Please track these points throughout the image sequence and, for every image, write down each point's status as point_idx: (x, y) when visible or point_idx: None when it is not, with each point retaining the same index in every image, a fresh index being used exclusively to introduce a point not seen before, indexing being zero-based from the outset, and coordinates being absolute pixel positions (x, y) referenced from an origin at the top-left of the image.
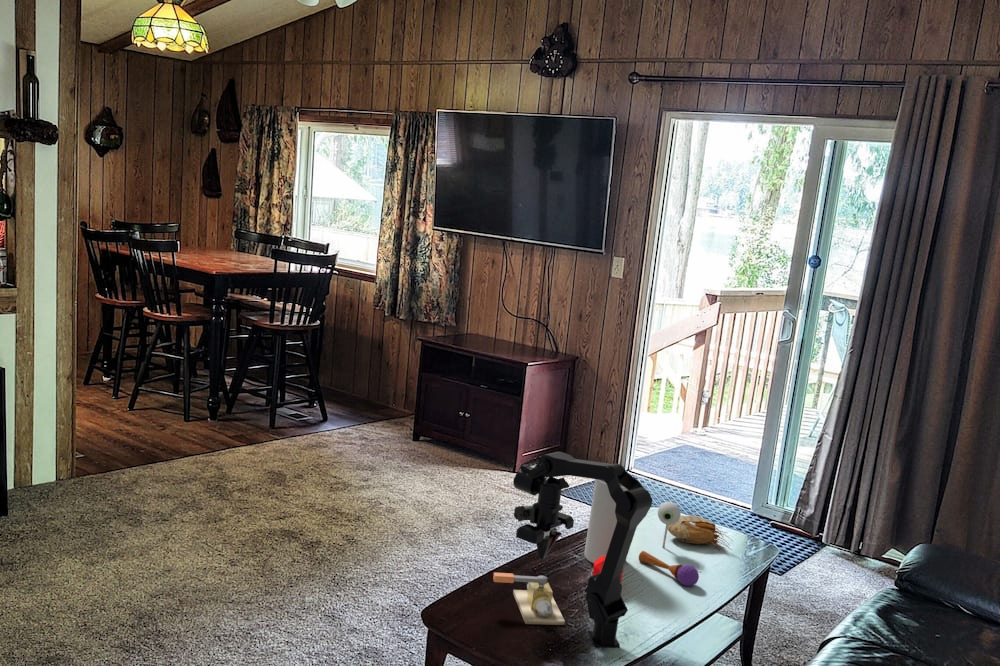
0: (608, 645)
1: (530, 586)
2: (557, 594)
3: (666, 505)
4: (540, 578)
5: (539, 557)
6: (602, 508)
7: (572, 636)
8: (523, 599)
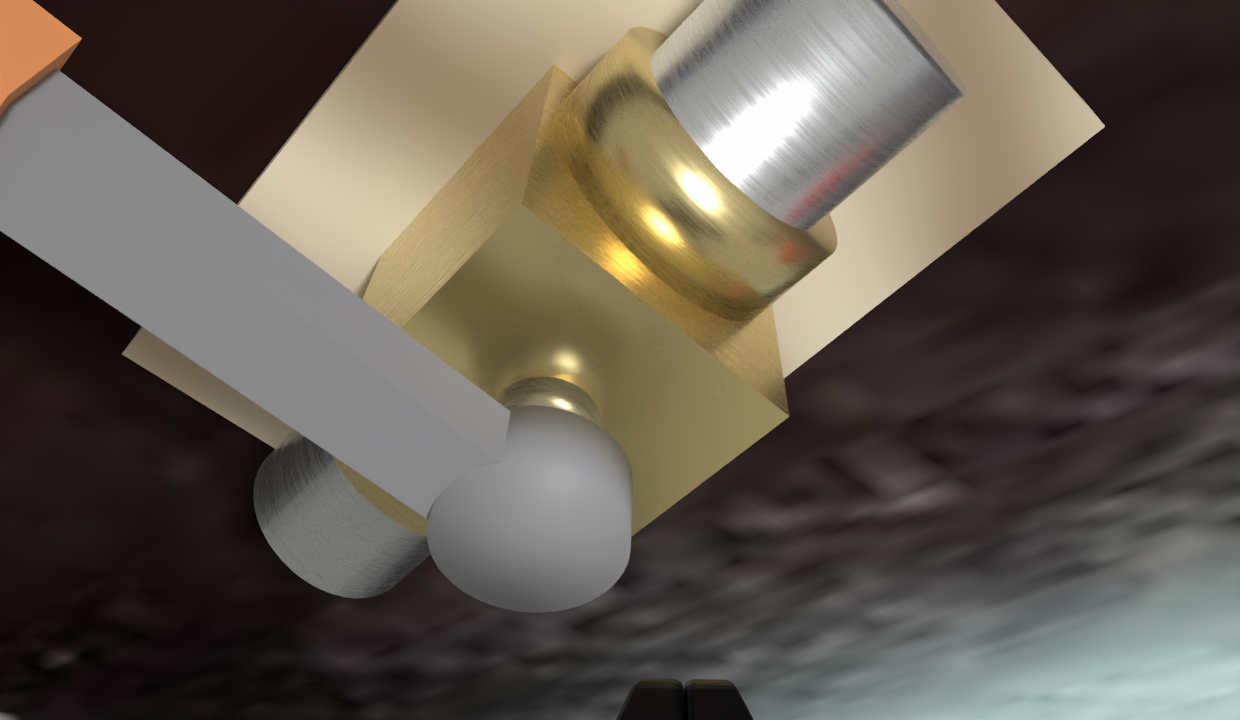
0: None
1: (455, 259)
2: (1175, 172)
3: None
4: (468, 539)
5: (629, 696)
6: None
7: (406, 674)
8: (525, 14)
